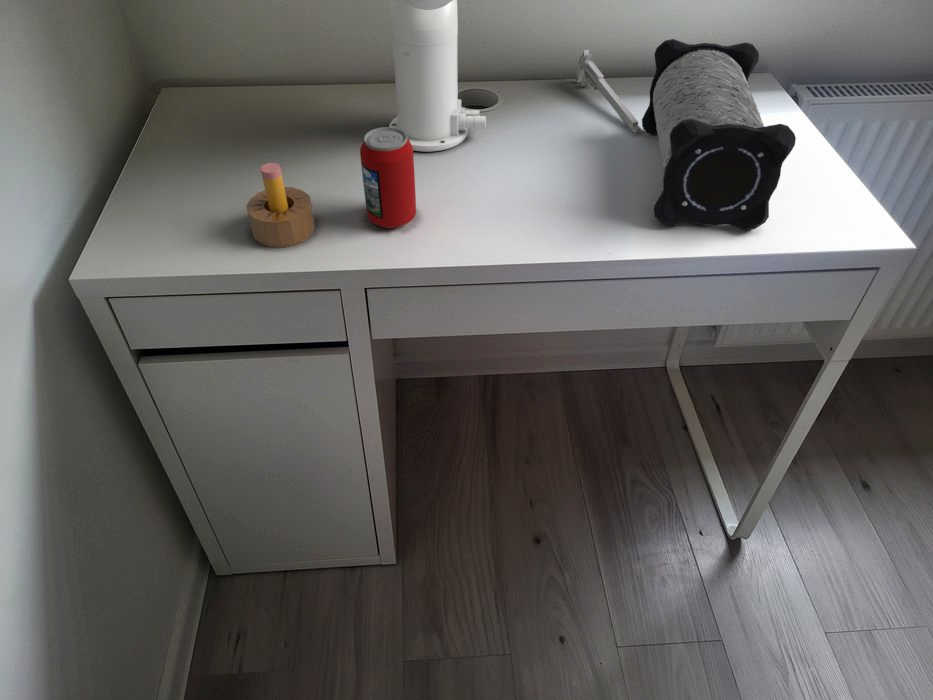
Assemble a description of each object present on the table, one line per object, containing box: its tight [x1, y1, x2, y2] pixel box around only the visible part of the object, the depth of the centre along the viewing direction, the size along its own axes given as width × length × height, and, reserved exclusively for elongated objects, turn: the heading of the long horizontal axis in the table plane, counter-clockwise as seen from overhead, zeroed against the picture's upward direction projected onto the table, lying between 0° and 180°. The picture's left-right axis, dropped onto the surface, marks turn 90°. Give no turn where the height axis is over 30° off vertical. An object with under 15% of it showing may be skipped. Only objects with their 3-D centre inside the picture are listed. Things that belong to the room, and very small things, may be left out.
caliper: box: [575, 49, 642, 134], centre depth 119 cm, size 20×1×6 cm, turn 22°
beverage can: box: [359, 126, 417, 229], centre depth 93 cm, size 7×7×12 cm
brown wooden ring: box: [246, 186, 316, 249], centre depth 94 cm, size 8×8×4 cm
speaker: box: [641, 38, 797, 231], centre depth 100 cm, size 15×29×15 cm, turn 174°
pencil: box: [260, 162, 289, 213], centre depth 92 cm, size 2×2×9 cm
